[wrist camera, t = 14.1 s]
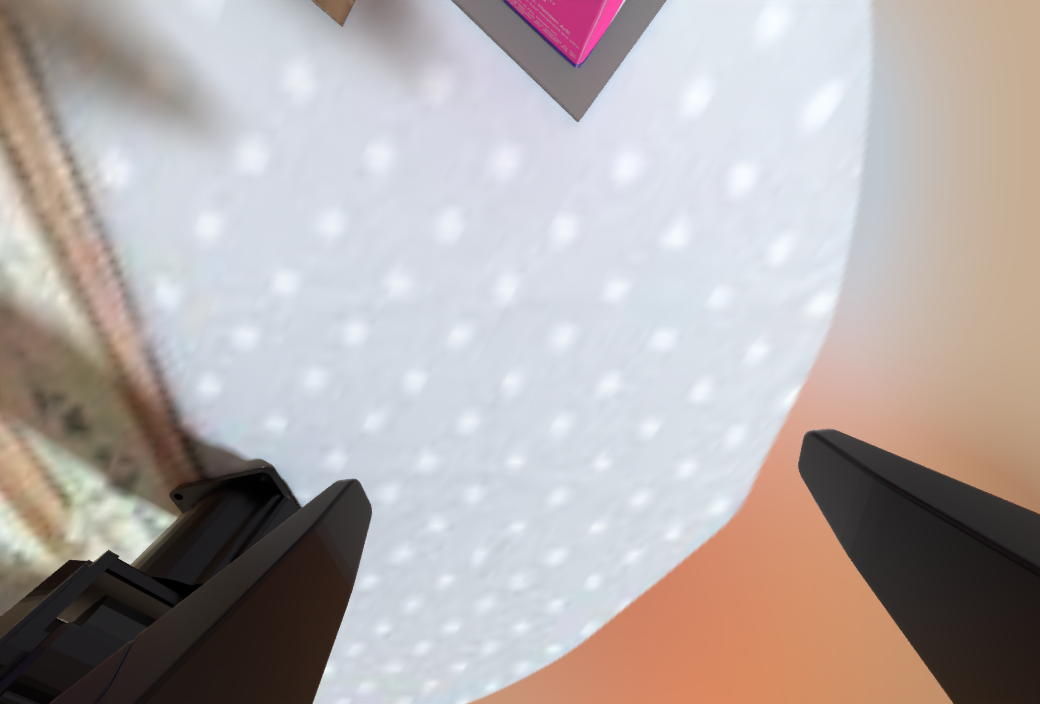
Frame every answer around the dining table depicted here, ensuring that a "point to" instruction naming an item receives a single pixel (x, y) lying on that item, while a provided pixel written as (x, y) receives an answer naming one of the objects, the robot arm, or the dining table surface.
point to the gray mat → (548, 65)
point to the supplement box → (568, 23)
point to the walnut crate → (336, 8)
